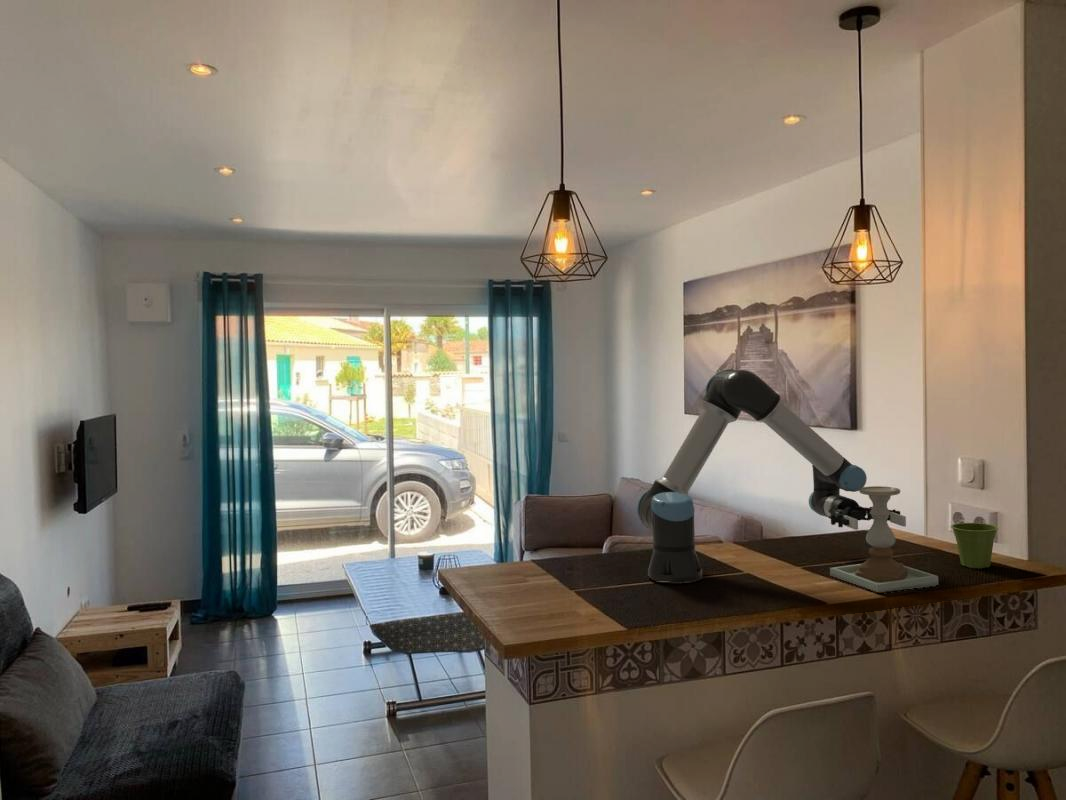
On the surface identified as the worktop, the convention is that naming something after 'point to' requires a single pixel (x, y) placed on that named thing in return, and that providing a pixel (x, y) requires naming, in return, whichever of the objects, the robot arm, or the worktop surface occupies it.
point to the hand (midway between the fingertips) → (880, 523)
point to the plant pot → (975, 543)
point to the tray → (911, 581)
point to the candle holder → (881, 540)
